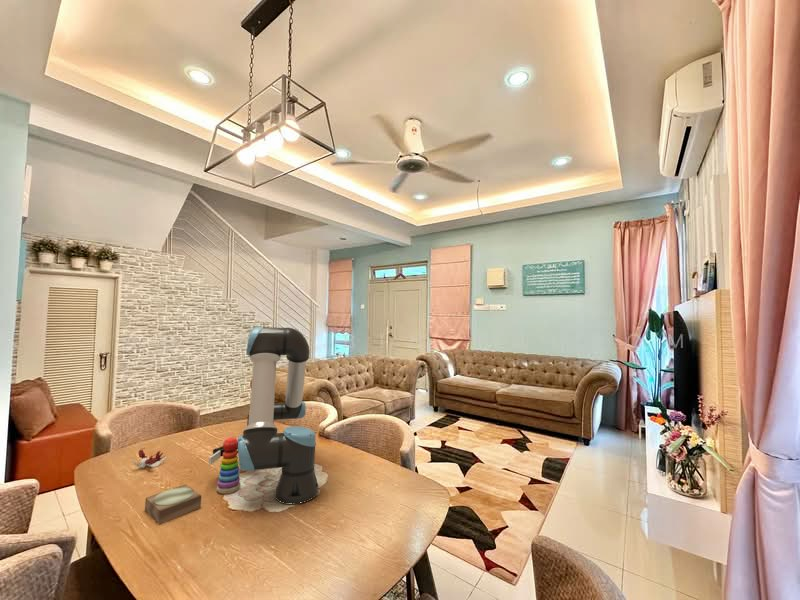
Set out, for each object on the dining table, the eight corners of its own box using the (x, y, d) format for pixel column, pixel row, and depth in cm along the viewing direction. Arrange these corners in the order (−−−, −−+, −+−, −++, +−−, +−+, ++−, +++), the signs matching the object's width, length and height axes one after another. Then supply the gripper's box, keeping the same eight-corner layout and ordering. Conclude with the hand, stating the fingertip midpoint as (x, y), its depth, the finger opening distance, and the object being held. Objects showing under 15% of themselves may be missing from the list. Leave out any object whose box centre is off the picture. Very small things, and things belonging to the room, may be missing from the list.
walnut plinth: (200, 507, 114) (201, 494, 114) (159, 524, 104) (160, 509, 105) (184, 495, 121) (185, 483, 121) (144, 510, 111) (145, 496, 112)
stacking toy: (244, 485, 130) (247, 435, 131) (232, 495, 122) (235, 442, 123) (224, 483, 131) (228, 433, 132) (211, 493, 123) (214, 441, 124)
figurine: (173, 467, 143) (174, 450, 144) (140, 477, 134) (141, 459, 134) (158, 458, 152) (159, 442, 152) (126, 466, 142) (127, 450, 143)
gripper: (281, 451, 147) (260, 473, 126) (224, 449, 147) (194, 470, 126) (282, 433, 147) (261, 452, 126) (225, 431, 148) (195, 450, 127)
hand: (227, 461), depth 126 cm, fingers open, 13 cm apart
